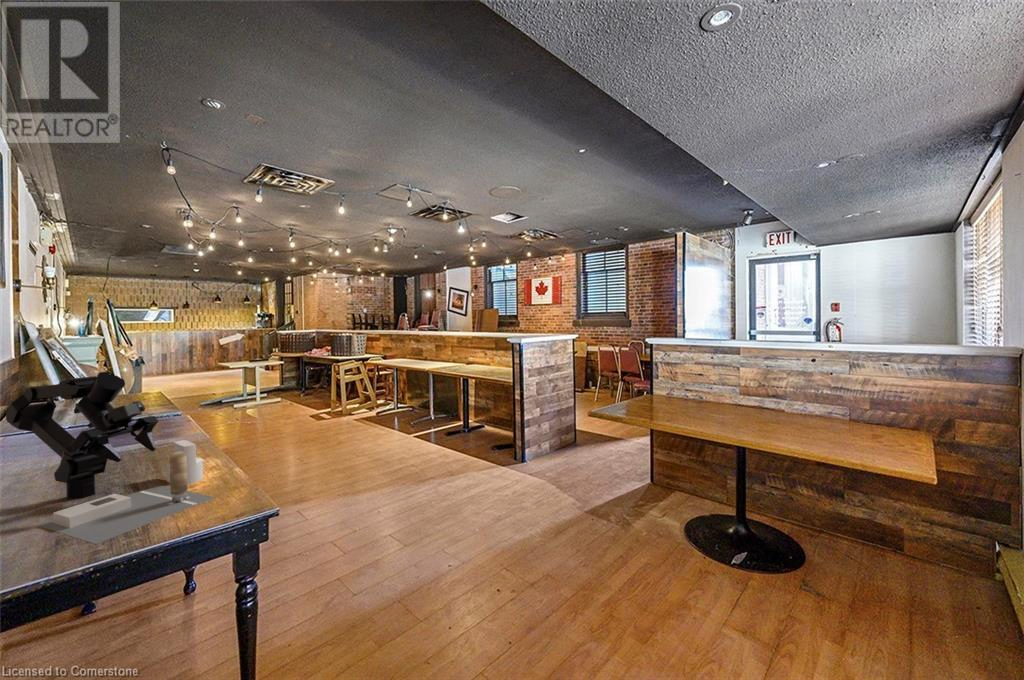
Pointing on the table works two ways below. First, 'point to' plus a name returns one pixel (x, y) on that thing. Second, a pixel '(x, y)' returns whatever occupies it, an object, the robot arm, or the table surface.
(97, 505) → the white flat block
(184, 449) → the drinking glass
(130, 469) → the table surface
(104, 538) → the floor panel
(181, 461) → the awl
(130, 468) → the table surface
